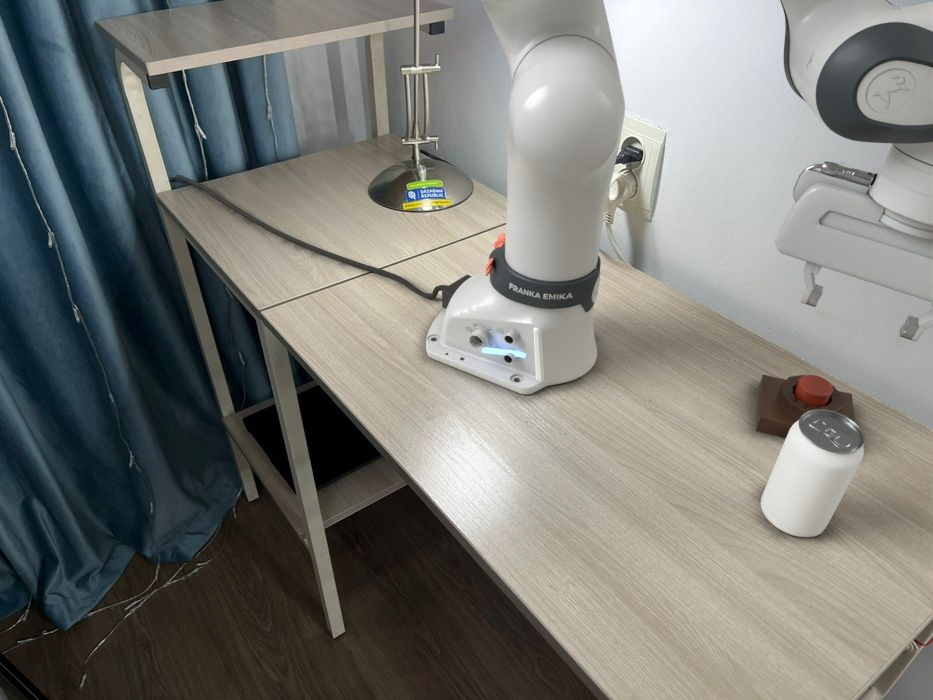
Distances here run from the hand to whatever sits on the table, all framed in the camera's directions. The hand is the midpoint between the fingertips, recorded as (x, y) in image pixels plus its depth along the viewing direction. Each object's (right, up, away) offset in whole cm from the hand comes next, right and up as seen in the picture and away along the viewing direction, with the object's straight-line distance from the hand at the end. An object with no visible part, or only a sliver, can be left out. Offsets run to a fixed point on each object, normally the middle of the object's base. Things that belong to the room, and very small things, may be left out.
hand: (856, 319), depth 69 cm
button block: (+1, -11, +12) cm, 17 cm away
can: (-6, -20, +2) cm, 21 cm away
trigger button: (+1, -8, +10) cm, 13 cm away
